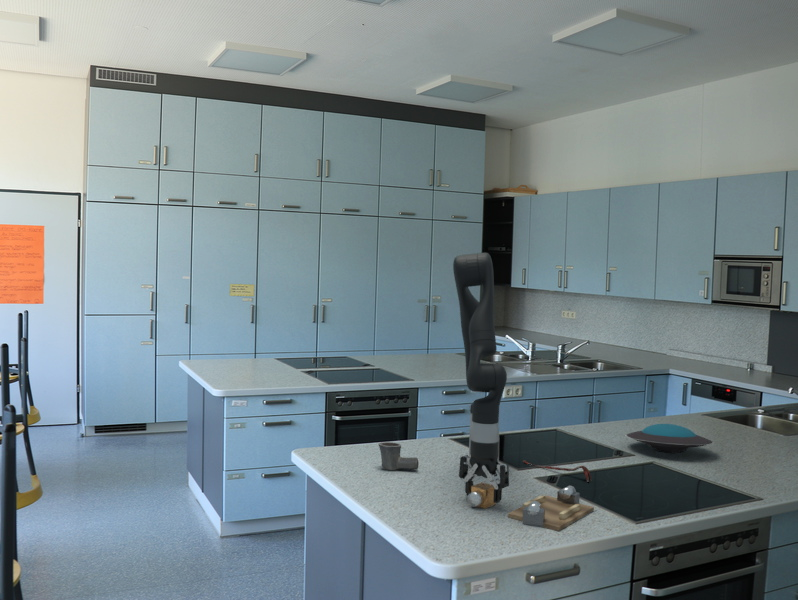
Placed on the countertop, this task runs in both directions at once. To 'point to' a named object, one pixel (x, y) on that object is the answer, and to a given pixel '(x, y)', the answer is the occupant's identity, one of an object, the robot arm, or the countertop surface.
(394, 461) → the pipe
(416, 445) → the countertop surface
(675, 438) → the decorative object
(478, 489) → the coupling
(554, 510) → the wooden tray with rails
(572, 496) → the shaft
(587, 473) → the crowbar
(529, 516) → the shaft
